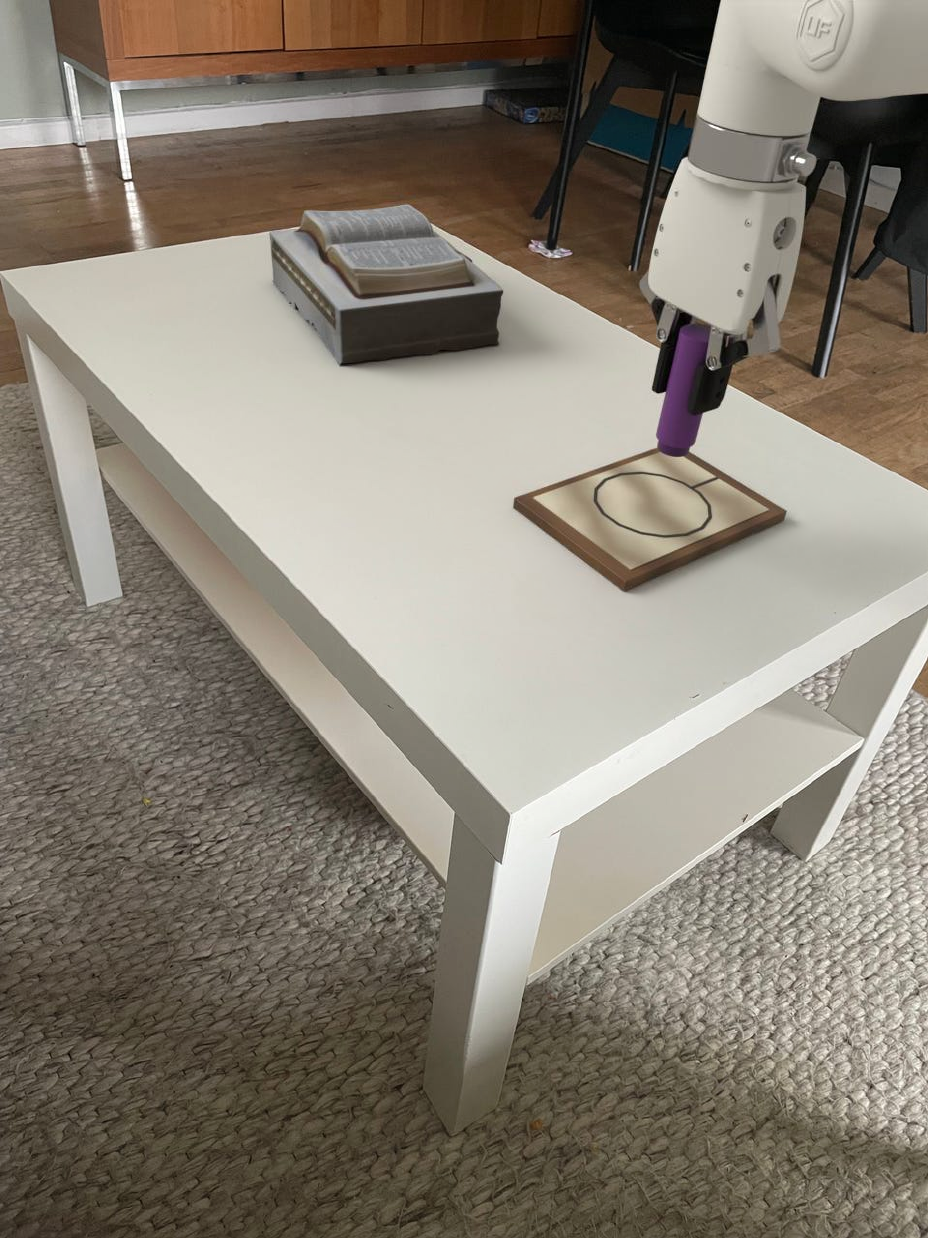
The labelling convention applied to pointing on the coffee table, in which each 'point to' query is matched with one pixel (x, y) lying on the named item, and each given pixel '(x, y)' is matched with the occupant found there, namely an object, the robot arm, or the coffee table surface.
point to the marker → (682, 393)
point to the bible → (383, 284)
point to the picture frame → (648, 514)
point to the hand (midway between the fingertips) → (685, 397)
